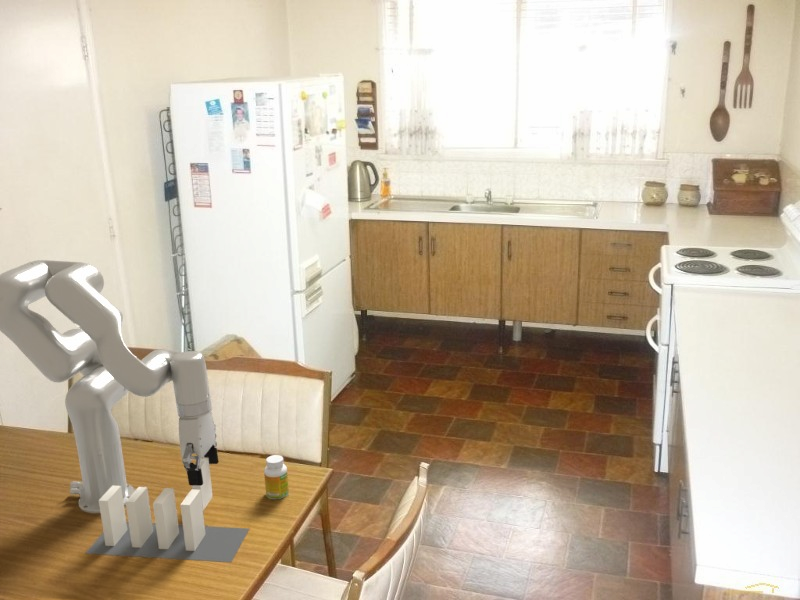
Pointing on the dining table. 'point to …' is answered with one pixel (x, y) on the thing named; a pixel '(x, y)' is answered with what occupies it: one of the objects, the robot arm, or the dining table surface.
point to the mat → (178, 545)
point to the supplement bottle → (276, 477)
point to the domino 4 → (205, 482)
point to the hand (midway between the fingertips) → (204, 473)
